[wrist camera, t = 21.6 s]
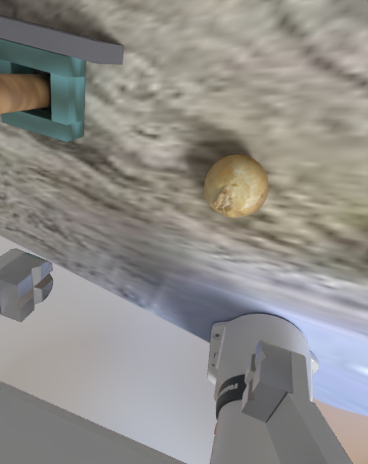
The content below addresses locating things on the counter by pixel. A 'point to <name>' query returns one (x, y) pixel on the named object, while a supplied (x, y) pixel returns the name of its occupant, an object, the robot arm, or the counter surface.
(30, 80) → the dowel
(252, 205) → the onion
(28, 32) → the wall
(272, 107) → the counter surface
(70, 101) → the block
